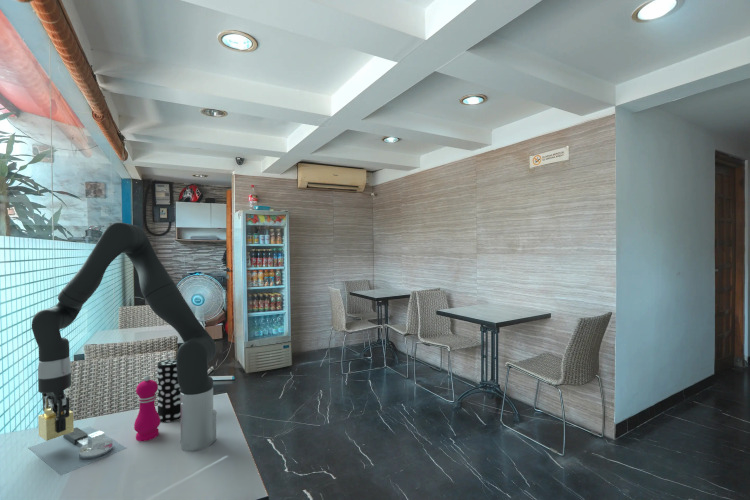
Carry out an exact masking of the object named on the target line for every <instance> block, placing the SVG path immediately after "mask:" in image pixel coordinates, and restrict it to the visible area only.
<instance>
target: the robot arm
mask: <svg viewBox="0 0 750 500" xmlns="http://www.w3.org/2000/svg"><path fill="white" fill-rule="evenodd" d="M121 254H125V255H126V256H127V258H128V259H129V260H130V262H131V263H132V265H133V266H134V268H135V269H136V272H137V275H138V283H139V288H140V292H141V294H142V296H143V297H144V300H145V302H146V303H147V305H149V308H150V309H151V310H152V312H153V313H155V315H157V317H159V318H160V319H161V320H163V321H164V322H165V323H167V324H168V325H169V326H171V327H172V328H173V329H174V330H175V331H176V332H177V333H178V335H179V337H180V338H181V339H182V341H183V343H181V344H180V346H179V347H178V348H177V352H176V358H175V359H176V365H177V380H178V384H179V386H180V405H181V418H180V449H181V450H182V451H184V452H197V451H201V450H204V449H206V448H208V447H211V446H212V445H213V443H214V442H215V441H217V410H215V409H214V379H213V377H212V376H210V375H209V371H208V363H210V362H211V361H213V359H215V357H216V355H217V351H218V350H217V344H216V342H215V340H214V338H212V336H211V334H209V332H208V331H207V330H206V329H205V327H204V326H203V325H202V323H201V322H200V321H199V320H198V318H197V317H196V315H195V314H194V312H193V310H192V309H191V307H190V306H189V304H188V302H187V301H186V300H185V298H184V296H183V294H182V293H181V291H180V288H178V286H177V284H176V283H175V281H174V280H173V279H172V277H171V276H170V274H169V273H168V271H167V269H166V268H165V266H164V265H163V264H162V262H161V260H160V259H159V257H158V256H157V255H158V254H157V253H156V252H155V250H154V248H153V245H152V243H151V241H150V239H149V237H148V235H147V233H146V231H145V230H143V228H141V227H140V226H138V225H135V224H131V223H127V222H126V223H125V222H114V223H112V224H110V225H109V226H108V227H106V229H105V230H104V232H102V234H101V236H100V238H99V239H98V241H97V242H96V244H95V246H94V247H93V249H92V250H91V252H90V254H89V255H88V257H87V258H86V259H85V260H84V263H83V264H82V266H80V268H79V269H78V270H77V272H76V273H75V275H73V277H71V279H70V280H69V281H68V282H67V283H66V284H65V286H64V287H63V288H62V289H61V290H60V292H59V293H58V295H57V301H58V302H57V303H56V304H55V305H54V306H52V307H50V308H49V307H48V308H44V309H41V310H39V311H37V312H35V314H34V316H32V319H31V330H32V333H33V337H34V339H35V342H36V345H37V346H38V367H37V381H38V382H37V387H38V392H39V393H40V394H41V397H42V399H41V400H42V411H43V412H44V409H45V408H47V407H49V406H50V408H51V412H52V413H53V414H54V416H55V423H56V432H57V433H59V432H62V431H65V430H66V417H69V410H70V397H69V396H67V395H66V393H65V390H66V389H69V388H70V387H71V386H72V363H71V358H70V342H69V341H70V340H69V339H68V338H67V337H62V335H61V330H63V329H65V328H67V327H69V325H71V324H72V323H73V322H74V321H75V320H76V319H77V317H78V316H79V313H80V311H82V308H83V306H84V304H85V303H87V302H88V300H89V299H90V298H91V297H92V295H93V294H94V293H95V292H96V290H97V289H98V288H99V286H100V285H101V283H102V280H103V278H104V275H105V273H106V270H107V269H108V267H109V266H111V265H110V264H111V263H112V262H113V261H115V259H116V258H117V257H119V256H120V255H121ZM56 408H58V409H56ZM61 412H63V414H62V415H61Z"/></svg>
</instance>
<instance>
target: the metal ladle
mask: <svg viewBox="0 0 750 500" xmlns="http://www.w3.org/2000/svg"><path fill="white" fill-rule="evenodd" d="M105 435H106V432H104V431H102V430H97V432H94V433H91V434H87V433H85V432H84V431H82V430H81V429H80V428H79V427H74V432H71V433H68V434H65V435H62V436H63V438H65V439H66V440H68V441H69V442H71V443H72V444H74V445H78V446H80V447H81V448H80V449H79V458H80V459H82V460H91V459H96V458H99V457H102V456H104V455H106V454H108V453H109V452H111V451H112V449H113V441H112V440H111V439H112V438H111V439H105Z"/></svg>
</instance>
